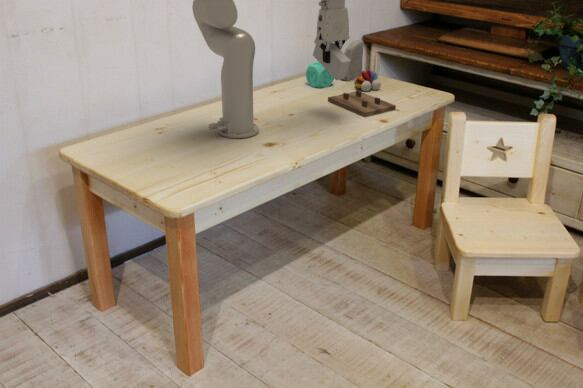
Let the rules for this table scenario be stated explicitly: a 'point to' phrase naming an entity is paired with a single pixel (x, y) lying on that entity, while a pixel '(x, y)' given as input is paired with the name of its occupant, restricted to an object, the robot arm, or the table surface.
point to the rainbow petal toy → (367, 81)
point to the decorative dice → (318, 76)
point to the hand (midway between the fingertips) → (331, 61)
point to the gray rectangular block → (333, 61)
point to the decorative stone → (354, 59)
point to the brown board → (361, 103)
